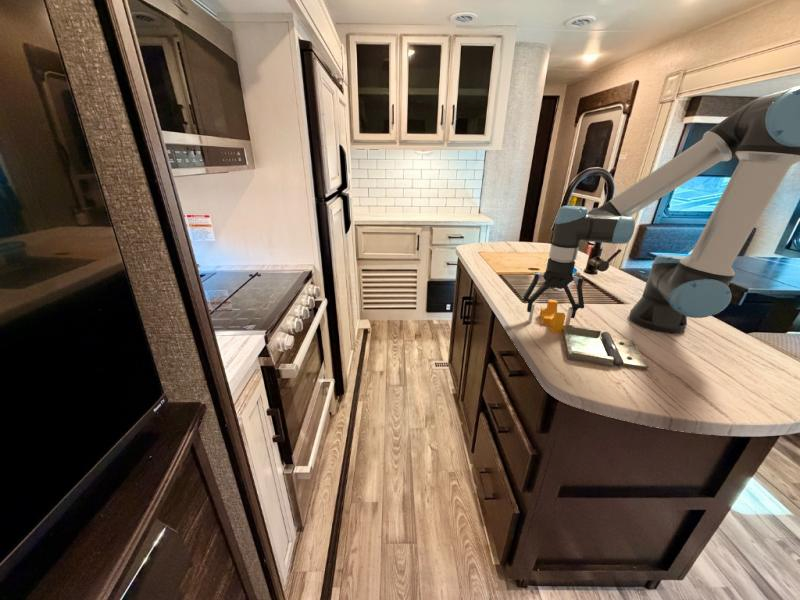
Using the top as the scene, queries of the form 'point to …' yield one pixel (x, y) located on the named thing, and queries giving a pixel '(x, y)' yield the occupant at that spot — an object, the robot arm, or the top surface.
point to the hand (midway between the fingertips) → (548, 323)
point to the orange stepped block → (552, 317)
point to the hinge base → (600, 348)
